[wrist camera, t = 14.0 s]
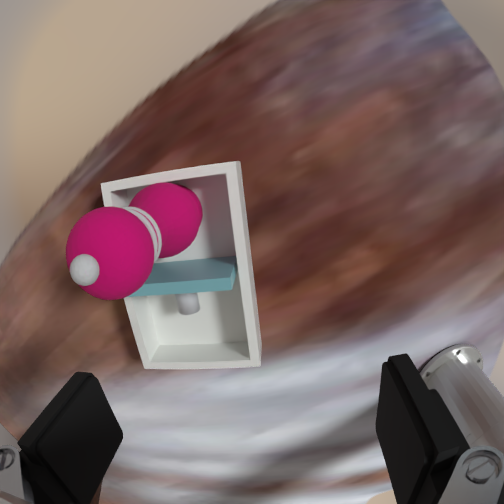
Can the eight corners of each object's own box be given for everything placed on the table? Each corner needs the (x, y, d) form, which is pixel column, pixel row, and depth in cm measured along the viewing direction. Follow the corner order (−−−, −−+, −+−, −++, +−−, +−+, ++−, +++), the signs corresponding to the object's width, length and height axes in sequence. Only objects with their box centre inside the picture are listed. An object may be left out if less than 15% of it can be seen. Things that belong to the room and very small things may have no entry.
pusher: (242, 296, 37) (237, 324, 30) (150, 302, 38) (129, 329, 31) (237, 255, 36) (230, 277, 29) (142, 264, 36) (118, 285, 30)
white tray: (261, 343, 40) (260, 366, 35) (156, 347, 41) (144, 368, 36) (240, 161, 34) (235, 161, 29) (120, 179, 35) (100, 183, 30)
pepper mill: (133, 218, 35) (16, 280, 16) (168, 166, 33) (57, 180, 14) (182, 257, 36) (102, 356, 17) (220, 206, 34) (162, 266, 15)
